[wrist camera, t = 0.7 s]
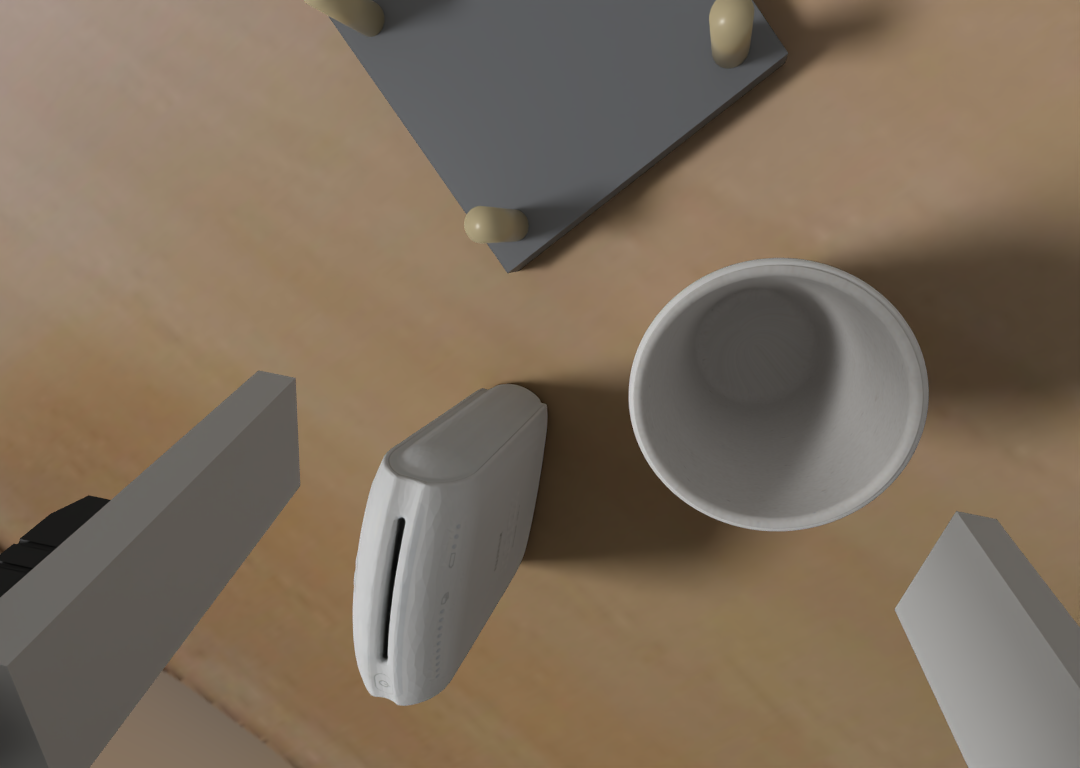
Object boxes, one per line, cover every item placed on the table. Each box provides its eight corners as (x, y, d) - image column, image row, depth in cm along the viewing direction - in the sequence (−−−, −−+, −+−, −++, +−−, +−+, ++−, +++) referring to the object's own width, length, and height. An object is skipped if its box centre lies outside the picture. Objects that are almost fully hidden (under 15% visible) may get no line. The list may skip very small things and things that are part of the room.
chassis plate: (784, 63, 25) (800, 19, 20) (517, 271, 30) (474, 279, 25) (583, -236, 25) (546, -359, 19) (346, 26, 30) (267, -18, 24)
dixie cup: (778, 207, 26) (807, 193, 17) (901, 363, 26) (998, 436, 17) (622, 328, 29) (574, 374, 20) (733, 469, 29) (737, 580, 20)
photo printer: (527, 573, 34) (424, 752, 22) (454, 550, 35) (319, 710, 23) (561, 393, 31) (462, 491, 19) (480, 373, 32) (340, 454, 20)
